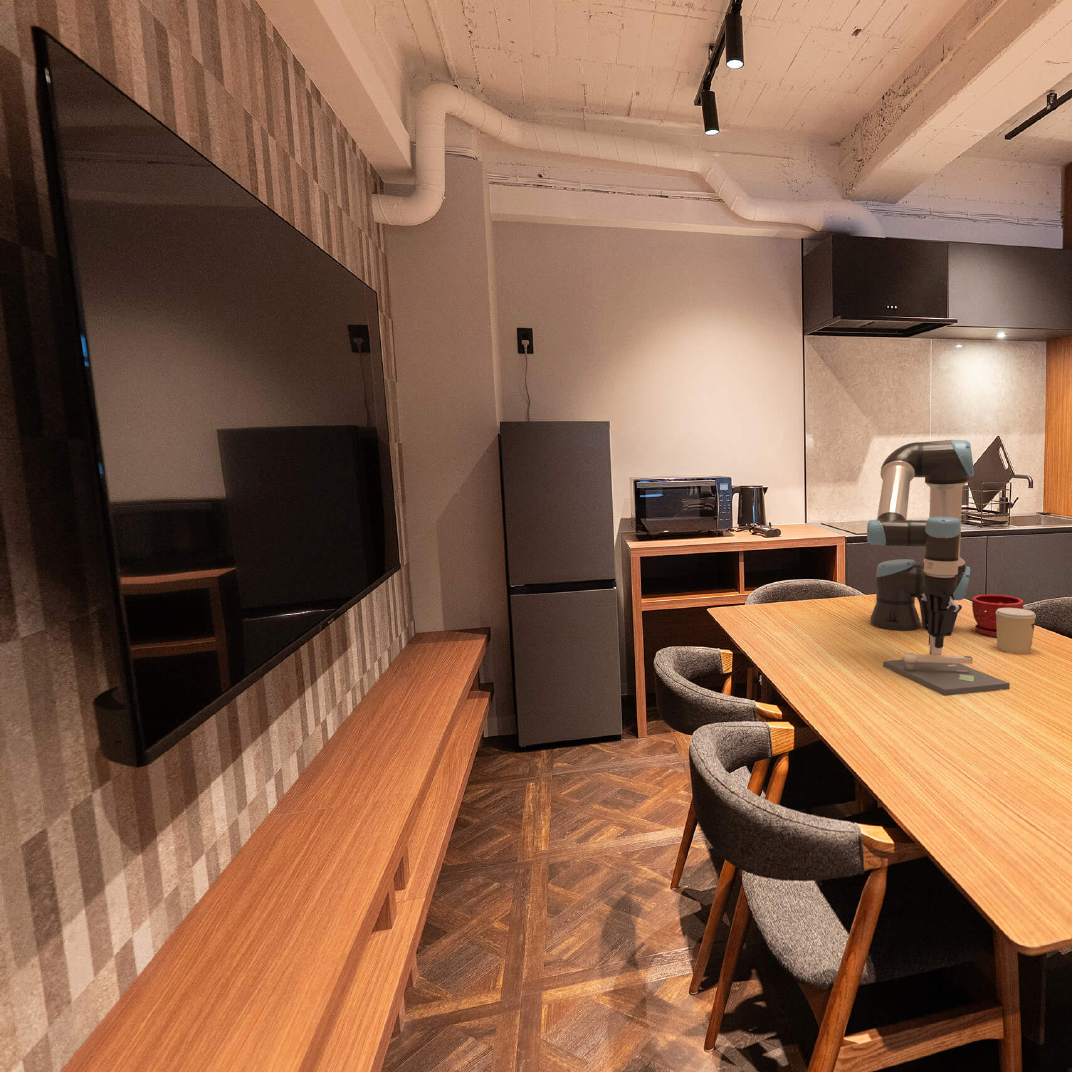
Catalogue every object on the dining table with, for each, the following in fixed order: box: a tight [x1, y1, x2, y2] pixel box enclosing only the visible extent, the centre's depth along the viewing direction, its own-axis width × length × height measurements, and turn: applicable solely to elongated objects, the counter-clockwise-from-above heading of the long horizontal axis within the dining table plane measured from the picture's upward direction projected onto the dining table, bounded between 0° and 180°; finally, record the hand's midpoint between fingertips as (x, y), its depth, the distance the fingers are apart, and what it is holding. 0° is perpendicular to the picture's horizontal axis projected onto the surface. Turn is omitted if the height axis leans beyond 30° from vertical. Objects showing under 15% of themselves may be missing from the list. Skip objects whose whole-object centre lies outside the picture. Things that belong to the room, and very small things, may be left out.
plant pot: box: [971, 594, 1024, 638], centre depth 188 cm, size 13×13×12 cm
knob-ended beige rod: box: [903, 652, 973, 665], centre depth 156 cm, size 16×3×2 cm, turn 74°
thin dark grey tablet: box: [882, 658, 1011, 696], centre depth 156 cm, size 22×18×4 cm
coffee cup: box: [996, 608, 1037, 655], centre depth 173 cm, size 9×9×12 cm
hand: (935, 657), depth 158 cm, fingers closed
